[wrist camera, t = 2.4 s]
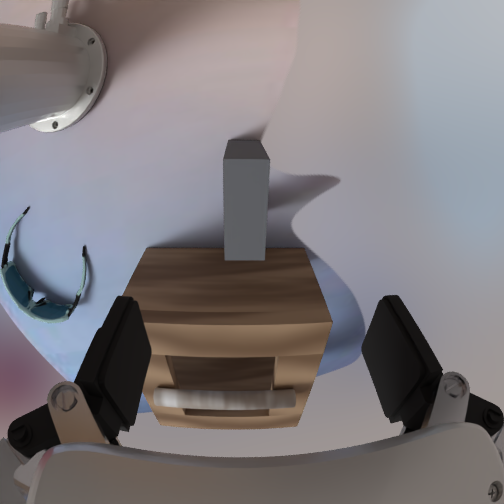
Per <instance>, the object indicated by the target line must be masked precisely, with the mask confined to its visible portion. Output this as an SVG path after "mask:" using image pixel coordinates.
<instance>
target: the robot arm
mask: <svg viewBox="0 0 504 504" xmlns="http://www.w3.org/2000/svg"><path fill="white" fill-rule="evenodd" d="M68 4H69V0H52V6H51V17H50V21H48V22H47V24H46V20H47V12H42V13H39V14H37V15H36V19H35V28H31V27H25V26H18V25H11V24H3V23H0V133H2V132H5V131H9V130H12V129H15V128H19V127H22V126H26V125H29V126H30V127H32V128H33V129H35V130H37V131H40V132H45V133H51V132H57V131H61V130H64V129H66V128H68V127H71V126H72V125H74V124H75V123H77V122H78V121H79V120H80V119H81V118H82V117H83V116H85V115H86V113H87V112H88V111H89V110H90V108H91V107H92V106H93V104H94V103H95V101H96V99H97V97H98V96H99V93H100V91H101V89H102V86H103V83H104V79H105V75H106V68H107V53H106V49H105V45H104V43H103V41H102V39H101V37H100V35H99V34H98V33H97V32H96V31H95V30H93V29H92V28H90V27H88V26H86V25H83V24H79V23H68V21H69V19H68V18H66V12H67V9H68ZM45 24H46V28H45ZM94 41H95V42H94ZM93 43H94V44H93ZM93 89H94V91H93V92H92V90H93ZM362 354H363V357H364V359H365V362H366V364H367V367H368V370H369V372H370V375H371V378H372V380H373V383H374V386H375V388H376V392H377V394H378V397H379V400H380V403H381V405H382V409H383V411H384V414H385V416H386V417H387V418H389V420H390V423H394V422H398V421H402V422H403V425H404V426H403V428H402V430H401V433H400V435H399V436H396V437H392V438H388V439H384V440H380V441H376V442H372V443H367V444H363V445H358V446H353V447H348V448H342V449H336V450H331V451H323V452H316V453H308V454H299V455H288V456H275V457H246V458H245V457H242V458H241V457H240V458H233V457H205V456H190V455H180V454H171V453H161V452H153V451H147V450H141V449H135V448H129V447H123V446H122V445H121V443H120V441H119V440H118V438H117V436H118V434H119V430H122V431H127V432H129V429H130V426H133V425H134V423H135V420H136V415H137V411H138V407H139V402H140V398H141V394H142V390H143V386H144V382H145V378H146V374H147V370H148V367H149V363H150V359H151V355H152V348H151V345H150V342H149V339H148V335H147V332H146V329H145V325H144V322H143V318H142V315H141V311H140V308H139V304H138V302H137V301H136V300H134V299H133V297H131V296H117V298H116V299H115V301H114V303H113V305H112V307H111V309H110V311H109V313H108V315H107V317H106V319H105V321H104V323H103V325H102V327H101V328H99V329H98V330H97V332H96V334H95V336H94V338H93V340H92V342H91V344H90V347H89V349H88V351H87V353H86V355H85V358H84V360H83V362H82V364H81V367H80V369H79V371H78V374H77V376H76V379H75V381H74V383H73V382H70V381H64V382H61V383H58V384H56V385H55V386H54V387H53V388H52V389H51V390H50V392H49V394H48V398H47V402H48V403H47V404H45V405H43V406H41V407H39V408H38V409H35V410H33V411H31V412H30V413H27V414H25V415H23V416H22V417H19V418H17V419H16V420H14V421H13V422H12V423H11V424H10V426H9V429H8V438H7V439H5V438H3V439H1V441H0V504H504V417H503V413H502V411H501V409H500V408H499V407H498V406H496V405H495V404H493V403H491V402H488V401H486V400H484V399H482V398H480V397H478V396H476V395H474V394H471V393H470V387H469V383H468V381H467V380H466V378H464V377H463V376H462V375H461V374H459V373H457V372H447V373H445V374H444V375H443V373H442V370H443V369H442V367H441V365H440V364H439V362H438V360H437V358H436V356H435V355H434V353H433V351H432V349H431V348H430V346H429V344H428V343H427V341H426V339H425V337H424V336H423V334H422V332H421V331H420V329H419V327H418V326H417V324H416V323H415V321H414V319H413V317H412V316H411V314H410V313H409V311H408V309H407V308H406V306H405V305H404V303H403V302H402V300H401V299H400V297H399V296H398V295H388V296H384V297H383V298H382V300H380V301H379V302H378V305H377V308H376V311H375V313H374V316H373V319H372V321H371V324H370V326H369V329H368V331H367V334H366V336H365V339H364V341H363V344H362Z"/></svg>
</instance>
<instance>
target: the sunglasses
mask: <svg viewBox="0 0 504 504" xmlns="http://www.w3.org/2000/svg"><path fill="white" fill-rule="evenodd" d="M28 210H29V207H28V208H27V209H26V210H25V211H24V213H23V214H22V215H20V216H19V217H18V218H17V220H16V221H15V223H14V224H13V225H12V227H11V228H10V230H9V233H8V235H7V238H6V244H5V248H4V253H3V258H2V266H1V267H2V269H0V273H1V277H2V280H3V283H4V286H5V288H6V290H7V292H8V294H9V295H10V297H11V299H12V300H13V302H14V303H15V304H16V305H17V306H18V308H19V309H20V310H21V311H23V312H24V313H25V314H26V315H27V316H29V317H31V318H33V319H36V320H38V321H42V322H46V323H60V322H64V321H66V320H68V319H69V316H70V315H71V314H72V312H73V311H74V309H75V308H76V306H77V304H78V301H79V298H80V296H81V292H82V290H83V288H84V284H85V280H86V255H85V247H84V246H83V253H82V258H83V275H82V282H81V286H80V289H79V290H78V292H77V294H76V300H75V302H74V304H73V305H72V304H68V305H59V304H55V303H52V302H51V301H49V300H44V299H45V297H44V298H42V299H40V300H39V301H38V302H35V301H33V300H32V297H33V294H34V289H31V287H30V286H28V285H27V284H26V283H25V281H24V280H23V279H22V277H21V276H20V274H19V273H18V270H17V268H16V266H15V263H14V262H12V261H10V262H7V261H8V258H7V257H8V252H9V248H10V240H11V235H12V232H13V230H14V228H15V226H16V225H17V223H18V222H19V220H20V219H21V218H22V217H23V216H24V215H25V214H26V213H27V211H28ZM43 300H44V301H43Z"/></svg>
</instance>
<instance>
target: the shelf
mask: <svg viewBox="0 0 504 504" xmlns="http://www.w3.org/2000/svg"><path fill="white" fill-rule="evenodd" d="M122 296H131V297H133V299H134V300H136V301H137V302H138V304H139V308H140V311H141V315H142V318H143V322H144V325H145V329H146V332H147V335H148V339H149V342H150V345H151V348H152V355H151V359H150V363H149V367H148V370H147V374H146V378H145V382H144V386H143V390H142V392H143V394H144V396H145V398H146V400H147V402H148V403H149V405H150V407H151V409H152V411H153V413H154V415H155V416H156V418H157V420H158V422H159V423H160V425H164V426H173V427H185V428H200V429H268V428H283V427H296V426H297V425H298V423H299V420H300V418H301V415H302V413H303V410H304V407H305V405H306V402H307V399H308V396H309V394H310V391H311V388H312V385H313V383H314V380H315V377H316V374H317V371H318V368H319V365H320V362H321V359H322V356H323V353H324V350H325V347H326V343H327V340H328V337H329V333H330V330H331V327H332V323H333V321H332V318H331V316H330V313H329V310H328V307H327V305H326V302H325V300H324V297H323V294H322V292H321V289H320V286H319V284H318V281H317V279H316V276H315V274H314V271H313V269H312V266H311V264H310V261H309V259H308V256H307V254H306V251H305V249H304V248H265V260H225V253H224V248H146V250H145V252H144V254H143V256H142V257H141V259H140V261H139V263H138V265H137V267H136V269H135V271H134V273H133V275H132V277H131V279H130V281H129V283H128V285H127V287H126V289H125V291H124V293H123V295H122Z"/></svg>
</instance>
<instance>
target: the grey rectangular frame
mask: <svg viewBox="0 0 504 504" xmlns="http://www.w3.org/2000/svg"><path fill="white" fill-rule="evenodd" d="M269 172H270V159H269V157H268V155H267V153H266V151H265V149H264V147H263V146H262V144H261V142H260V141H259V140H228V143H227V147H226V151H225V155H224V158H223V195H224V253H225V260H265V247H266V229H267V211H268V192H269Z"/></svg>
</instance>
